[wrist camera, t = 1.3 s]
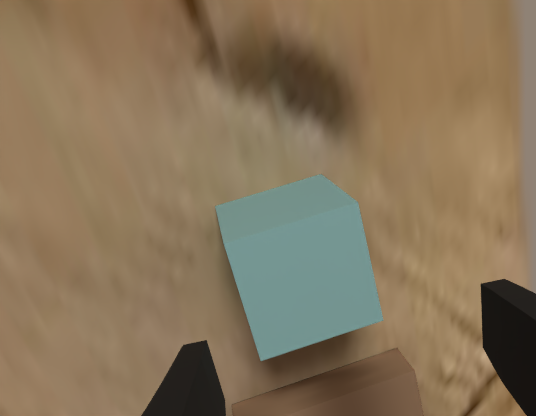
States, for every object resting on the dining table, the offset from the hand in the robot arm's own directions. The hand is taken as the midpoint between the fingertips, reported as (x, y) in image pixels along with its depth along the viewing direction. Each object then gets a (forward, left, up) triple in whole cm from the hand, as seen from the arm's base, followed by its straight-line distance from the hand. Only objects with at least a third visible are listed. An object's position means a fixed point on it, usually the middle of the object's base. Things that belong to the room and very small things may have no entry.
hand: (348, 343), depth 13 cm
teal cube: (-1, -1, -10) cm, 10 cm away
